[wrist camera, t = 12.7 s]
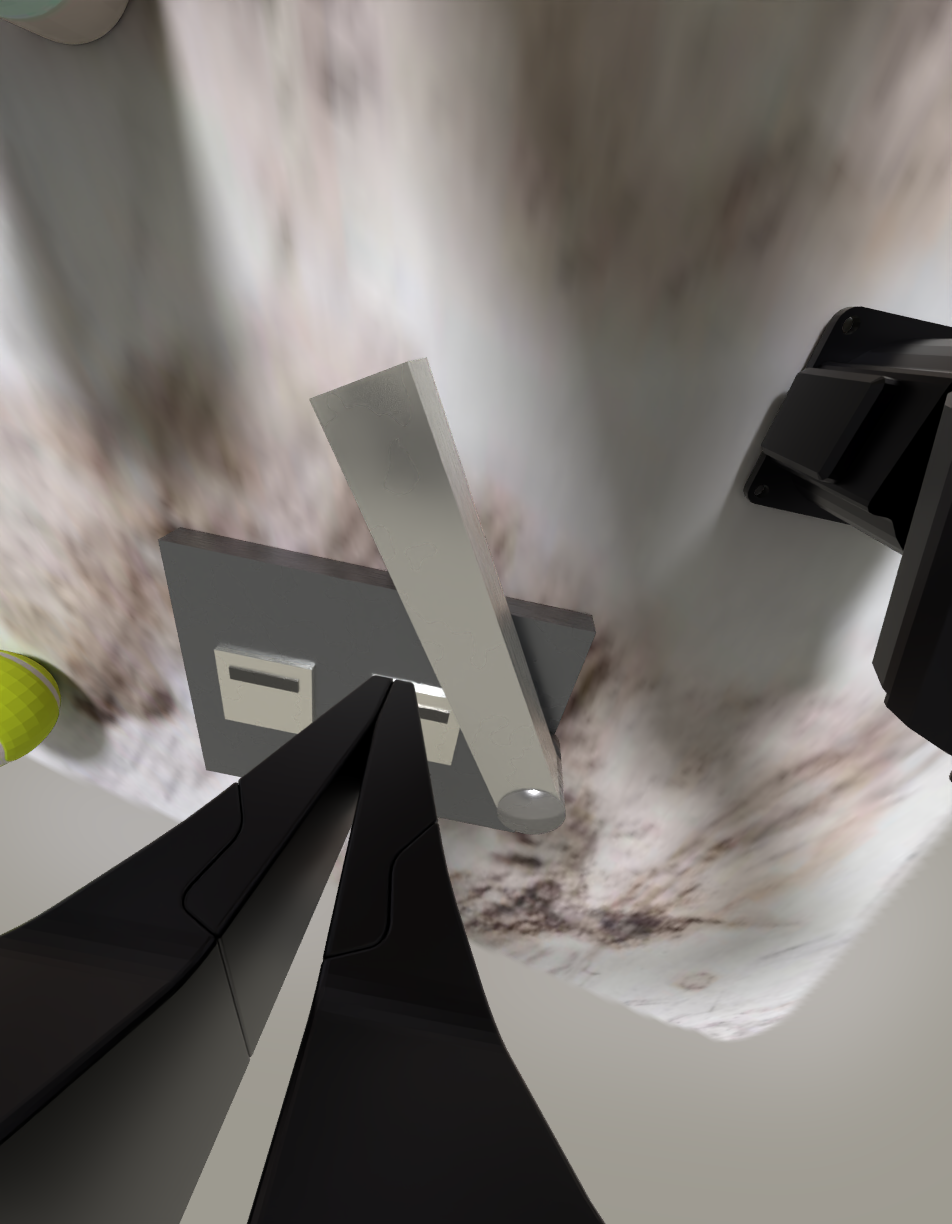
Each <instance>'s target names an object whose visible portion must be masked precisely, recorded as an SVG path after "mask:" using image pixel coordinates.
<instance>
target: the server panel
mask: <svg viewBox="0 0 952 1224" xmlns="http://www.w3.org/2000/svg"><path fill="white" fill-rule="evenodd" d="M158 541H159V546H160V551H161V556H162V561H163V565H164V570H165V575H166V580H167V584H168V589H169V594H170V599H171V604H172V608H173V613H174V618H175V623H176V628H177V632H178V637H179V642H180V647H181V652H182V656H183V661H184V666H185V671H186V675H187V680H188V685H189V690H190V695H191V699H192V704H193V709H194V714H195V719H196V723H197V728H198V733H199V738H200V743H201V747H202V752H203V757H204V762H205V766H206V770H209V771H214V772H219V773H224V774H228V775H233V776H238V777H243V776H244V775H245V774H247V773H248V772H249V771H251V770H252V769H253V768H254V767H256V766H257V765H258V764H260V763H261V762H262V761H263V760H265V759H266V758H267V757H269V756H270V755H271V754H272V753H274V752H275V751H276V750H278V749H279V748H280V747H281V746H283V745H284V744H285V743H287V742H288V741H289V740H290V739H292V738H293V737H294V736H296V735H297V734H298V733H299V732H301V731H302V730H303V729H305V728H306V727H307V726H308V725H310V724H311V723H312V722H314V721H315V720H316V719H317V718H319V717H320V716H321V715H323V714H324V713H325V712H326V711H328V710H329V709H330V708H332V707H333V706H334V705H335V704H337V703H338V702H339V701H341V700H342V699H343V698H344V697H346V696H347V695H348V694H350V693H351V692H352V691H353V690H355V689H356V688H357V687H359V686H360V685H361V684H362V683H364V682H365V681H366V680H368V679H369V678H370V677H372V676H373V675H379V676H384V677H389V678H392V679H393V681H395V680H396V679H398V680H403V681H408V682H412V683H413V684H414V685H415V690H416V696H417V702H418V708H419V714H420V719H421V725H422V731H423V737H424V743H425V748H426V754H427V760H428V766H429V772H430V777H431V783H432V789H433V795H434V801H435V806H436V812H437V817H440V818H445V819H450V820H455V821H460V822H465V823H469V824H474V825H479V826H484V827H489V828H494V829H499V830H504V831H509V832H515V831H514V830H511V829H510V828H508V827H506V826H505V825H504V824H503V823H502V822H501V821H500V820H499V818H498V815H497V807H496V805H495V803H494V800H493V798H492V796H491V794H490V792H489V790H488V787H487V785H486V783H485V781H484V779H483V777H482V774H481V772H480V770H479V768H478V766H477V763H476V761H475V759H474V757H473V755H472V753H471V750H470V748H469V746H468V744H467V742H466V740H465V737H464V735H463V733H462V731H461V729H460V726H459V724H458V722H457V720H456V718H455V716H454V713H453V711H452V709H451V707H450V705H449V702H448V700H447V698H446V696H445V694H444V692H443V689H442V687H441V685H440V683H439V681H438V679H437V676H436V674H435V672H434V670H433V668H432V665H431V663H430V661H429V659H428V657H427V655H426V652H425V650H424V648H423V646H422V644H421V641H420V639H419V637H418V635H417V633H416V631H415V628H414V626H413V624H412V622H411V620H410V618H409V615H408V613H407V611H406V609H405V607H404V604H403V602H402V600H401V598H400V596H399V594H398V591H397V589H396V587H395V585H394V583H393V580H392V578H391V576H390V574H389V572H387V571H383V570H378V569H373V568H368V567H364V566H359V565H354V564H350V563H345V562H340V561H336V560H331V559H326V558H322V557H317V556H312V555H307V554H303V553H298V552H293V551H289V550H284V549H279V548H275V547H270V546H265V545H261V544H256V543H251V542H246V541H242V540H237V539H232V538H228V537H223V536H218V535H214V534H209V533H204V532H200V531H195V530H190V529H185V528H181V527H180V528H178V529H176V530H175V531H173V532H171V533H169V534H167V535H166V536H164V537H162V538H160V539H158ZM505 598H506V601H507V604H508V607H509V611H510V614H511V617H512V620H513V623H514V626H515V629H516V632H517V635H518V638H519V641H520V644H521V647H522V650H523V653H524V656H525V659H526V663H527V666H528V669H529V672H530V675H531V678H532V681H533V684H534V687H535V690H536V693H537V696H538V699H539V702H540V705H541V708H542V711H543V714H544V718H545V721H546V724H547V727H548V730H549V733H550V736H551V739H552V742H553V745H554V748H555V751H556V754H557V756H558V757H559V758H560V761H561V753H560V743H559V740H558V738H557V737H556V736H555V732H556V729H557V727H558V724H559V722H560V720H561V717H562V715H563V712H564V710H565V707H566V705H567V702H568V700H569V697H570V695H571V693H572V690H573V688H574V685H575V683H576V680H577V678H578V675H579V673H580V670H581V668H582V666H583V663H584V661H585V658H586V656H587V653H588V651H589V648H590V646H591V644H592V641H593V639H594V636H595V634H596V631H595V626H594V622H593V618H592V615H589V614H584V613H580V612H575V611H570V610H566V609H561V608H556V607H552V606H547V605H542V604H537V603H533V602H528V601H523V600H519V599H514V598H509V597H505Z"/></svg>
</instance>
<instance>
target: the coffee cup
mask: <svg viewBox="0 0 952 1224" xmlns="http://www.w3.org/2000/svg"><path fill="white" fill-rule="evenodd" d="M128 1H129V0H0V18H1V19H3V20H6V21H8V22H10V23H12V24H15V25H17V26H19V27H21V28H24V29H26V30H28V31H30V32H33V33H35V34H37V35H39V36H42V37H44V38H47V39H49V40H52V41H55V42H58V43H64V44H84V43H88V42H92V41H94V40H96V39H98V38H100V37H102V36H103V35H105V34H106V33H107V32H108V31H110V30H111V29H112V28H113V27H114V26H115V24H116V23H117V22H118V20H119V19H120V17H121V16H122V14H123V12H124V11H125V8H126V6H127V4H128Z"/></svg>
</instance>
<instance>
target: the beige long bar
mask: <svg viewBox="0 0 952 1224" xmlns="http://www.w3.org/2000/svg"><path fill="white" fill-rule="evenodd" d="M309 400H310V402H311V404H312V406H313V408H314V411H315V413H316V415H317V417H318V419H319V421H320V424H321V426H322V428H323V430H324V432H325V435H326V437H327V439H328V441H329V443H330V445H331V448H332V450H333V452H334V454H335V456H336V459H337V461H338V463H339V465H340V467H341V469H342V472H343V474H344V476H345V478H346V480H347V482H348V485H349V487H350V489H351V491H352V493H353V496H354V498H355V500H356V502H357V504H358V506H359V509H360V511H361V513H362V515H363V517H364V519H365V522H366V524H367V526H368V528H369V530H370V533H371V535H372V537H373V539H374V541H375V543H376V546H377V548H378V550H379V552H380V554H381V557H382V559H383V561H384V563H385V565H386V567H387V570H388V572H389V574H390V576H391V578H392V580H393V583H394V585H395V587H396V589H397V591H398V594H399V596H400V598H401V600H402V602H403V604H404V607H405V609H406V611H407V613H408V615H409V618H410V620H411V622H412V624H413V626H414V628H415V631H416V633H417V635H418V637H419V639H420V641H421V644H422V646H423V648H424V650H425V652H426V655H427V657H428V659H429V661H430V663H431V665H432V668H433V670H434V672H435V674H436V676H437V679H438V681H439V683H440V685H441V687H442V689H443V692H444V694H445V696H446V698H447V700H448V702H449V705H450V707H451V709H452V711H453V713H454V716H455V718H456V720H457V722H458V724H459V726H460V729H461V731H462V733H463V735H464V737H465V740H466V742H467V744H468V746H469V748H470V750H471V753H472V755H473V757H474V759H475V761H476V763H477V766H478V768H479V770H480V772H481V774H482V777H483V779H484V781H485V783H486V785H487V787H488V790H489V792H490V794H491V796H492V798H493V800H494V803H495V805H496V807H497V815H498V818H499V820H500V821H501V822H502V823H503V824H504V825H505V826H506V827H508V828H510V829H511V830H514V831H516V832H520V833H524V834H543V833H548V832H551V831H553V830H555V829H557V828H558V827H559V826H561V824H562V823H563V822H564V820H565V816H566V814H565V801H564V789H563V777H562V765H561V761H560V758H559V757H558V756H557V754H556V751H555V748H554V745H553V742H552V739H551V736H550V733H549V730H548V727H547V724H546V721H545V718H544V714H543V711H542V708H541V705H540V702H539V699H538V696H537V693H536V690H535V687H534V684H533V681H532V678H531V675H530V672H529V669H528V666H527V663H526V659H525V656H524V653H523V650H522V647H521V644H520V641H519V638H518V635H517V632H516V629H515V626H514V623H513V620H512V617H511V614H510V611H509V607H508V604H507V601H506V598H505V595H504V592H503V589H502V586H501V583H500V580H499V577H498V574H497V571H496V568H495V565H494V562H493V559H492V555H491V552H490V549H489V546H488V543H487V540H486V537H485V534H484V531H483V528H482V525H481V522H480V519H479V516H478V513H477V510H476V507H475V504H474V500H473V497H472V494H471V491H470V488H469V485H468V482H467V479H466V476H465V473H464V470H463V467H462V464H461V461H460V458H459V455H458V452H457V448H456V445H455V442H454V439H453V436H452V433H451V430H450V427H449V424H448V421H447V418H446V415H445V412H444V409H443V406H442V403H441V400H440V396H439V393H438V390H437V387H436V384H435V381H434V378H433V375H432V372H431V369H430V366H429V363H428V360H427V357H426V358H422V359H417V360H413V361H408V362H405V363H403V364H400V365H397V366H395V367H392V368H389V369H387V370H384V371H382V372H379V373H376V374H374V375H371V376H368V377H366V378H363V379H361V380H358V381H355V382H353V383H350V384H347V385H345V386H342V387H340V388H337V389H334V390H332V391H329V392H326V393H324V394H321V395H319V396H316V397H313V398H311V399H309Z"/></svg>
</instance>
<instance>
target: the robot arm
mask: <svg viewBox="0 0 952 1224" xmlns="http://www.w3.org/2000/svg"><path fill="white" fill-rule="evenodd" d="M849 317H851V318H852V320H853V324H852V327H851V328H850V330H849V331H848V332H846V333H843V330H842V327H843V324H844V322H845V321H846V320H847V319H848V318H849ZM761 446H762V450H763V451H762V453H761V455H760V457H759V459H758V461H757V463H756V465H755V467H754V469H753V471H752V473H751V475H750V477H749V479H748V481H747V482H746V484H745V487H744V490H743V492H744V496H745V497H746V499H748V500H749V501H750V502H752V503H754V504H758V505H763V506H767V507H772V508H776V509H781V510H786V511H790V512H795V513H799V514H804V515H808V516H813V517H817V518H822V519H827V520H831V521H836V522H840V523H845V524H849V525H852V526H854V527H855V528H857V529H859V530H860V531H862V532H864V533H865V534H867V535H869V536H871V537H872V538H874V539H876V540H877V541H879V542H881V543H883V544H884V545H886V546H888V547H889V548H891V549H893V550H895V551H896V552H898V553H900V554H901V555H902V558H901V562H900V565H899V569H898V572H897V576H896V579H895V583H894V586H893V590H892V594H891V597H890V601H889V604H888V608H887V611H886V615H885V618H884V622H883V626H882V629H881V633H880V636H879V640H878V643H877V647H876V651H875V654H874V658H873V662H872V664H873V666H874V669H875V671H876V674H877V676H878V679H879V681H880V683H881V686H882V688H883V689H884V690H885V692H886V693H887V694H886V697H885V700H884V703H885V705H886V707H887V708H888V709H889V710H891V711H892V712H893V713H894V714H895V715H896V716H897V717H898V718H899V719H900V720H901V721H902V722H903V723H904V724H905V725H906V726H907V727H909V728H910V729H912V730H913V731H915V732H916V733H918V734H919V735H921V736H922V737H924V738H925V739H926V740H928V741H929V742H931V743H932V744H934V745H935V746H937V747H938V748H940V749H941V750H943V751H944V752H946V753H947V754H949V755H951V756H952V327H949V326H944V325H940V324H935V323H931V322H927V321H922V320H918V319H914V318H909V317H905V316H900V315H896V314H892V313H887V312H883V311H879V310H874V309H870V308H865V307H847V308H844V309H842V310H840V311H839V312H837V313H836V314H835V315H834V316H833V317H832V319H831V320H830V322H829V323H828V325H827V327H826V329H825V331H824V333H823V335H822V337H821V339H820V341H819V343H818V345H817V347H816V349H815V351H814V352H813V354H812V356H811V358H810V360H809V362H808V364H807V366H806V368H805V369H804V370H803V371H801V372H800V373H798V374H797V376H796V377H795V379H794V381H793V383H792V385H791V387H790V389H789V391H788V393H787V395H786V397H785V399H784V401H783V403H782V405H781V407H780V409H779V411H778V413H777V415H776V417H775V419H774V421H773V423H772V425H771V426H770V428H769V430H768V432H767V434H766V436H765V438H764V440H763V442H762V444H761ZM760 485H764V490H763V491H762V492H761V493H760V494H758V495H755V494H754V492H755V490H756V488H757V487H758V486H760ZM949 779H950V780H951V782H952V771H951V773H950V775H949ZM238 783H239V784H238ZM238 783H233V784H232V785H231V786H230V787H228V788H227V789H226V790H224V791H223V792H222V793H221V794H219V795H218V796H217V797H215V798H214V799H213V800H211V801H210V802H209V803H207V804H206V805H205V806H203V807H202V808H201V809H199V810H198V811H197V812H195V813H194V814H192V815H191V816H190V817H188V818H187V819H186V820H184V821H183V822H181V823H180V824H178V825H177V826H175V827H174V828H172V829H171V830H169V831H168V832H166V833H165V834H163V835H162V836H160V837H159V838H157V839H156V840H155V841H153V842H152V843H150V844H149V845H147V846H145V847H144V848H142V849H141V850H139V851H138V852H136V853H135V854H133V855H132V856H130V857H129V858H127V859H125V860H124V861H122V862H121V863H119V864H118V865H116V866H115V867H113V868H111V869H110V870H108V871H107V872H105V873H104V874H102V875H101V876H99V877H98V878H96V879H94V880H93V881H91V882H90V883H88V884H87V885H85V886H84V887H82V888H81V889H79V890H77V891H76V892H74V893H73V894H71V895H70V896H68V897H67V898H65V899H64V900H62V901H61V902H59V903H57V904H56V905H54V906H53V907H51V908H50V909H48V910H46V911H44V912H43V913H41V914H40V915H38V916H36V917H35V918H33V919H31V920H29V921H28V922H25V923H23V924H22V925H20V926H18V927H16V928H14V929H12V930H10V931H8V932H6V933H4V934H2V935H0V1224H179V1223H180V1221H181V1219H182V1216H183V1214H184V1211H185V1209H186V1207H187V1205H188V1202H189V1200H190V1198H191V1195H192V1193H193V1191H194V1188H195V1186H196V1184H197V1182H198V1179H199V1177H200V1175H201V1172H202V1170H203V1168H204V1165H205V1163H206V1161H207V1159H208V1156H209V1154H210V1151H211V1149H212V1147H213V1145H214V1142H215V1140H216V1138H217V1135H218V1133H219V1131H220V1128H221V1126H222V1124H223V1122H224V1119H225V1117H226V1114H227V1112H228V1110H229V1107H230V1105H231V1103H232V1101H233V1098H234V1096H235V1094H236V1092H237V1089H238V1087H239V1085H240V1082H241V1080H242V1077H243V1075H244V1073H245V1071H246V1069H247V1066H248V1064H249V1061H250V1058H249V1057H251V1056H252V1054H253V1052H254V1050H255V1047H256V1045H257V1043H258V1040H259V1038H260V1036H261V1033H262V1031H263V1029H264V1027H265V1024H266V1022H267V1020H268V1017H269V1015H270V1012H271V1010H272V1008H273V1005H274V1003H275V1001H276V999H277V996H278V994H279V992H280V989H281V987H282V985H283V982H284V980H285V978H286V976H287V973H288V971H289V969H290V966H291V964H292V962H293V959H294V957H295V955H296V953H297V950H298V948H299V946H300V943H301V941H302V939H303V936H304V934H305V932H306V929H307V927H308V925H309V922H310V920H311V917H312V915H313V913H314V911H315V909H316V906H317V904H318V902H319V899H320V897H321V895H322V892H323V890H324V887H325V885H326V883H327V881H328V878H329V876H330V874H331V872H332V869H333V867H334V865H335V862H336V860H337V858H338V855H339V853H340V851H341V848H342V846H343V844H344V841H345V839H346V837H347V835H348V832H349V830H350V828H351V825H352V828H351V832H350V837H349V841H348V846H347V851H346V855H345V860H344V864H343V869H342V873H341V878H340V882H339V887H338V891H337V896H336V900H335V905H334V909H333V914H332V918H331V923H330V927H329V932H328V936H327V941H326V946H325V951H324V955H323V962H322V964H321V968H320V973H319V977H318V981H317V986H316V990H315V994H314V998H313V1002H312V1006H311V1010H310V1014H309V1017H308V1021H307V1024H306V1028H305V1032H304V1035H303V1038H302V1041H301V1044H300V1048H299V1051H298V1055H297V1058H296V1061H295V1065H294V1068H293V1071H292V1075H291V1078H290V1081H289V1085H288V1088H287V1092H286V1095H285V1098H284V1101H283V1105H282V1108H281V1111H280V1115H279V1118H278V1122H277V1125H276V1128H275V1132H274V1135H273V1138H272V1142H271V1145H270V1148H269V1152H268V1155H267V1159H266V1162H265V1165H264V1168H263V1172H262V1175H261V1179H260V1182H259V1185H258V1189H257V1192H256V1195H255V1199H254V1202H253V1205H252V1209H251V1212H250V1215H249V1219H248V1222H247V1224H605V1223H604V1221H603V1219H602V1218H601V1216H600V1215H599V1213H598V1212H597V1210H596V1209H595V1207H594V1206H593V1204H592V1203H591V1201H590V1199H589V1197H588V1195H587V1194H586V1192H585V1190H584V1188H583V1186H582V1185H581V1183H580V1181H579V1179H578V1177H577V1176H576V1174H575V1172H574V1170H573V1168H572V1166H571V1165H570V1163H569V1161H568V1159H567V1158H566V1156H565V1154H564V1152H563V1150H562V1149H561V1147H560V1145H559V1143H558V1141H557V1139H556V1138H555V1136H554V1134H553V1132H552V1130H551V1129H550V1127H549V1125H548V1123H547V1121H546V1120H545V1118H544V1116H543V1114H542V1112H541V1110H540V1109H539V1107H538V1105H537V1103H536V1101H535V1100H534V1098H533V1096H532V1094H531V1092H530V1091H529V1089H528V1087H527V1085H526V1083H525V1081H524V1080H523V1078H522V1076H521V1074H520V1072H519V1071H518V1069H517V1067H516V1065H515V1064H514V1062H513V1060H512V1058H511V1057H510V1054H509V1052H508V1051H507V1049H506V1047H505V1044H504V1042H503V1040H502V1038H501V1036H500V1033H499V1031H498V1028H497V1026H496V1023H495V1021H494V1018H493V1015H492V1013H491V1010H490V1007H489V1005H488V1001H487V998H486V996H485V993H484V990H483V986H482V983H481V980H480V977H479V974H478V970H477V967H476V964H475V961H474V958H473V954H472V951H471V948H470V945H469V942H468V938H467V935H466V932H465V929H464V926H463V922H462V919H461V916H460V913H459V910H458V906H457V903H456V899H455V896H454V892H453V888H452V885H451V881H450V877H449V874H448V869H447V864H446V860H445V855H444V850H443V845H442V840H441V834H440V828H439V824H438V823H437V822H438V818H437V812H436V806H435V801H434V795H433V789H432V783H431V777H430V772H429V766H428V760H427V754H426V748H425V743H424V737H423V731H422V725H421V719H420V714H419V708H418V702H417V696H416V690H415V685H414V684H413V683H412V682H408V681H403V680H398V679H396V680H395V681H393V679H392V678H389V677H384V676H379V675H373V676H372V677H370V678H369V679H368V680H366V681H365V682H364V683H362V684H361V685H360V686H359V687H357V688H356V689H355V690H353V691H352V692H351V693H350V694H348V695H347V696H346V697H344V698H343V699H342V700H341V701H339V702H338V703H337V704H335V705H334V706H333V707H332V708H330V709H329V710H328V711H326V712H325V713H324V714H323V715H321V716H320V717H319V718H317V719H316V720H315V721H314V722H312V723H311V724H310V725H308V726H307V727H306V728H305V729H303V730H302V731H301V732H299V733H298V734H297V735H296V736H294V737H293V738H292V739H290V740H289V741H288V742H287V743H285V744H284V745H283V746H281V747H280V748H279V749H278V750H276V751H275V752H274V753H272V754H271V755H270V756H269V757H267V758H266V759H265V760H263V761H262V762H261V763H260V764H258V765H257V766H256V767H254V768H253V769H252V770H251V771H249V772H248V773H247V774H245V775H244V776H243V777H242V778H240V779H239V781H238Z"/></svg>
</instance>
